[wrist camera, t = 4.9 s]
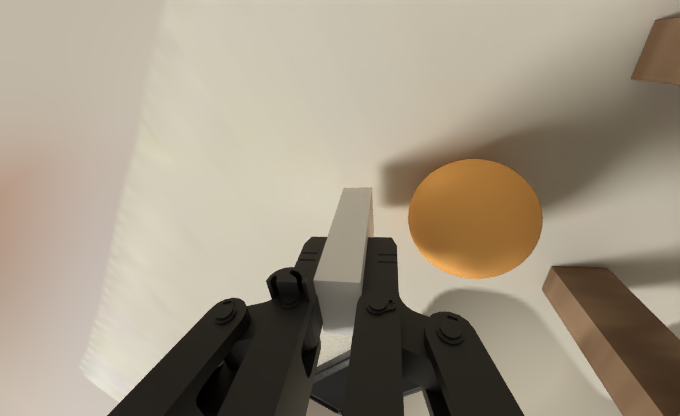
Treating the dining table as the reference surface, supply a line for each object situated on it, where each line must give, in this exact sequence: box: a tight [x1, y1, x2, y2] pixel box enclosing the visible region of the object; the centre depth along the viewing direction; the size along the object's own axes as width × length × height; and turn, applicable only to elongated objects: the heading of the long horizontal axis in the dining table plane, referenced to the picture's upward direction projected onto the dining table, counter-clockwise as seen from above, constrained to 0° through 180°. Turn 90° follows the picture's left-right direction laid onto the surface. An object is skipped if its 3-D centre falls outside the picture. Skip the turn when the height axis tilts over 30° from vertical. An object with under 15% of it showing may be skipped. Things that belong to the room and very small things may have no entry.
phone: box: [310, 350, 422, 415], centre depth 26 cm, size 8×1×15 cm
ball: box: [408, 159, 543, 279], centre depth 12 cm, size 6×6×6 cm
